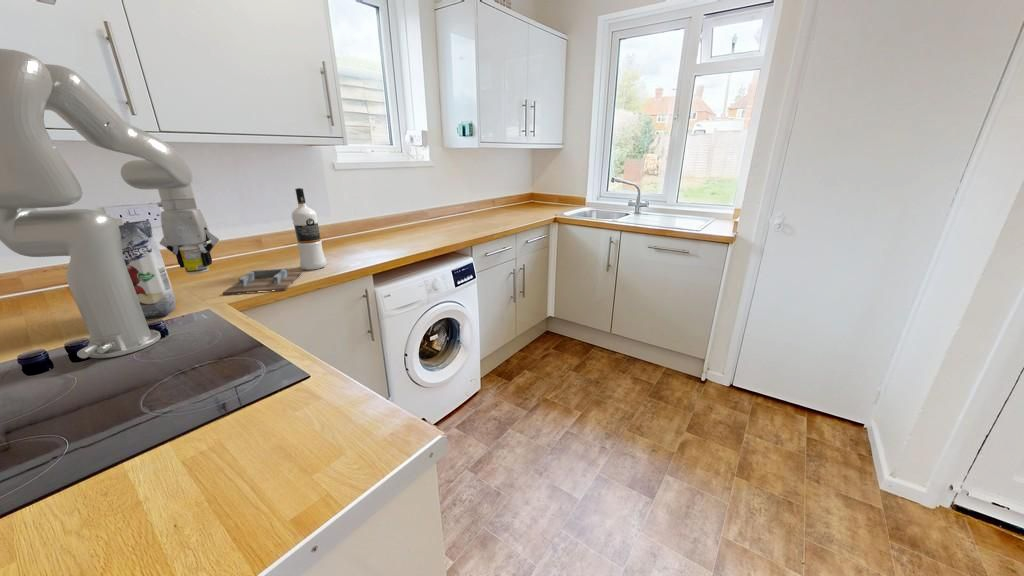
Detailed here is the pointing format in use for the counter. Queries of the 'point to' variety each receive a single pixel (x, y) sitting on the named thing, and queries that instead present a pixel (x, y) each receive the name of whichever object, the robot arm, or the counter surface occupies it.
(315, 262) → the vodka
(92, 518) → the counter surface
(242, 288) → the u rest
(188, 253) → the supplement bottle
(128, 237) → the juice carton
